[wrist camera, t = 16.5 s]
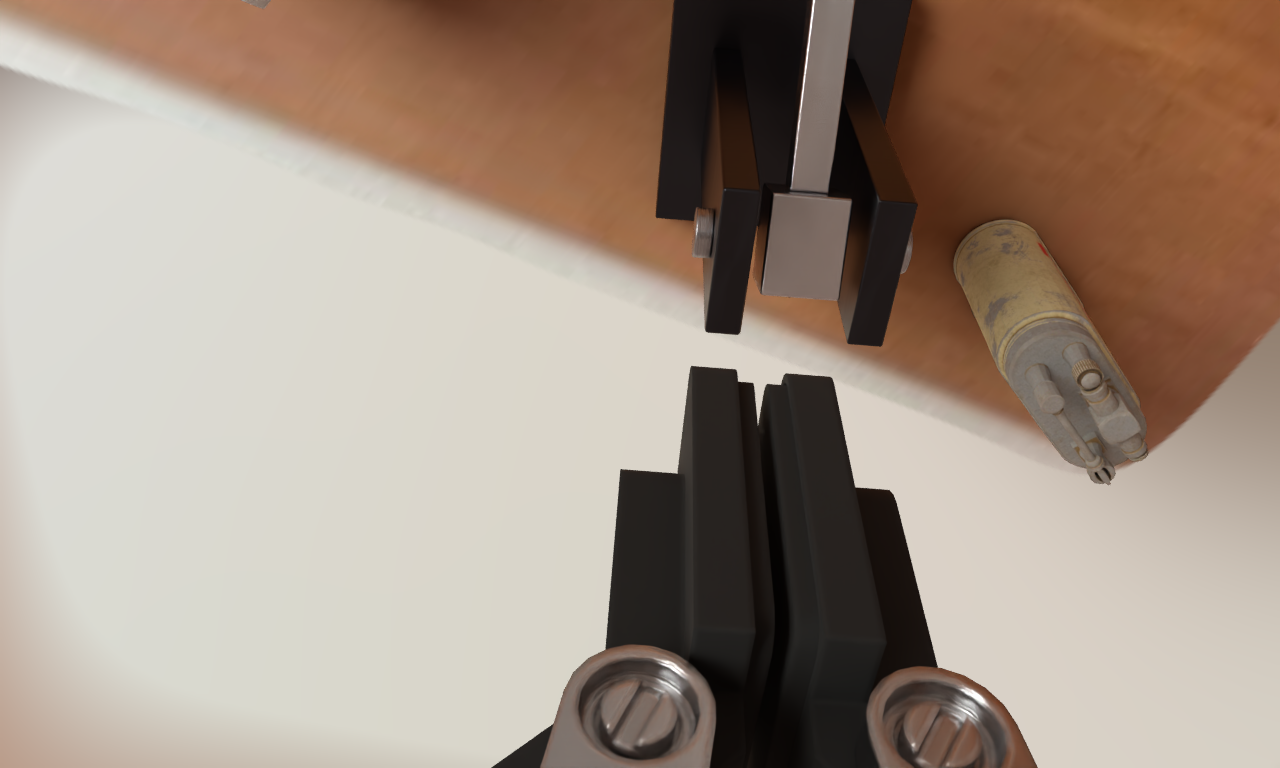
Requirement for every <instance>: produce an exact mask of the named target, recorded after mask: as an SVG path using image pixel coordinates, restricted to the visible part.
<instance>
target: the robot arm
mask: <svg viewBox="0 0 1280 768" xmlns="http://www.w3.org/2000/svg"><path fill="white" fill-rule="evenodd" d="M737 377H738V376H737V371H736V370H735V369H723V368H709V367H696V366H691V368H690V374H689V381H688V390H687V399H686V406H685V415H684V423H683V432H682V440H681V449H680V457H679V465H678V474H675V473H662V472H649V471H636V470H622V469H621V470H620V482H619V494H618V506H617V518H616V530H615V542H614V553H613V565H612V566H613V567H612V577H611V589H610V601H609V613H608V625H607V626H608V627H607V638H606V650H604V651H602V652H600V653H598V654H596V655H594V656H592V657H590V658H588V659H587V660H586V661H585V662H584V663H583V664H582V665H581V666H580V667H579V668H577V669H576V671H574V672H573V674H572V676H571V678H570V680H569V682H568V684H567V686H566V687H565V689H564V692H563V695H562V698H561V702H560V705H559V708H558V711H557V715H556V718H555V721H554V724H553V725H551V726H550V727H548V728H547V729H545V730H544V731H543V732H541V733H540V734H538V735H537V736H536V737H534V738H533V739H532V740H530V741H528V742H527V743H526V744H524V745H523V746H522V747H520V748H519V749H517V750H516V751H514V752H513V753H512V754H510V755H509V756H507V757H506V758H504V759H503V760H502V761H500V762H499V763H497V764H496V765H495V766H493V767H492V768H1038V767H1037V765H1036V763H1035V761H1034V759H1033V757H1032V755H1031V753H1030V751H1029V749H1028V746H1027V744H1026V742H1025V740H1024V738H1023V736H1022V734H1021V732H1020V730H1019V728H1018V726H1017V724H1016V722H1015V721H1014V719H1013V718H1012V716H1011V715H1010V713H1009V712H1008V710H1007V709H1006V707H1005V706H1004V705H1003V704H1002V703H1001V702H1000V701H999V700H998V699H997V698H996V697H995V696H994V695H992V693H990V692H989V691H988V690H987V689H986V688H985V687H983V686H981V685H979V684H978V683H976V682H974V681H973V680H971V679H969V678H967V677H966V676H964V675H961V674H958V673H955V672H952V671H948V670H945V669H942V668H938V666H937V662H936V658H935V654H934V650H933V646H932V642H931V638H930V634H929V630H928V626H927V622H926V619H925V614H924V610H923V606H922V603H921V599H920V594H919V590H918V586H917V583H916V578H915V575H914V571H913V566H912V563H911V559H910V554H909V550H908V547H907V543H906V539H905V535H904V531H903V527H902V523H901V519H900V515H899V511H898V507H897V503H896V500H895V498H894V495H893V494H892V493H891V492H890V490H882V489H869V488H856V487H855V485H854V479H853V475H852V469H851V465H850V460H849V455H848V450H847V445H846V441H845V435H844V430H843V425H842V421H841V416H840V411H839V406H838V401H837V396H836V392H835V386H834V382H833V379H832V378H831V377H825V376H812V375H798V374H785V375H784V377H783V380H782V384H781V385H772V384H767V385H766V387H765V390H764V395H763V401H762V407H761V412H760V418H759V425H758V424H757V413H756V403H755V392H754V384H753V383H746V382H738V378H737Z"/></svg>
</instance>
